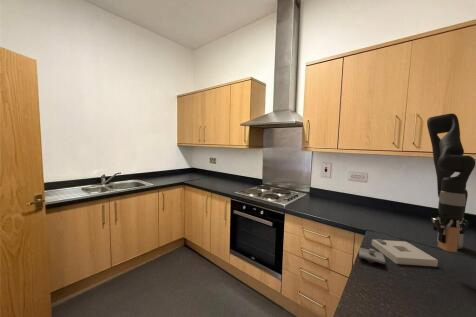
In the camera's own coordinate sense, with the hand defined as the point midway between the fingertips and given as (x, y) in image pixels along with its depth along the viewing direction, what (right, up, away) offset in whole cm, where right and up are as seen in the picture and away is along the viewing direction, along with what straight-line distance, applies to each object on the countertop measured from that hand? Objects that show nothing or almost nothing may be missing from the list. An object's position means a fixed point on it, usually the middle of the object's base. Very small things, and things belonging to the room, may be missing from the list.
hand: (447, 242), depth 85 cm
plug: (0, -3, 0) cm, 3 cm away
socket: (-7, -12, +15) cm, 21 cm away
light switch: (-27, -12, +9) cm, 30 cm away
